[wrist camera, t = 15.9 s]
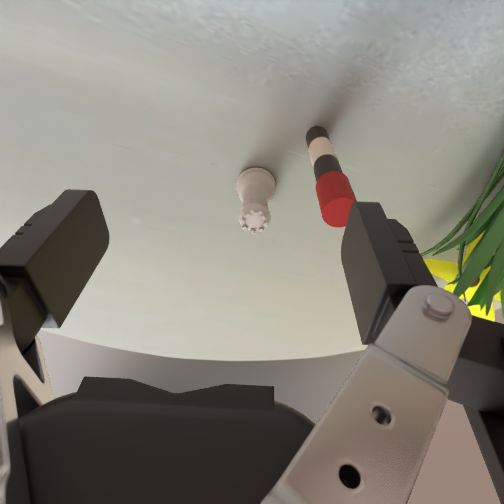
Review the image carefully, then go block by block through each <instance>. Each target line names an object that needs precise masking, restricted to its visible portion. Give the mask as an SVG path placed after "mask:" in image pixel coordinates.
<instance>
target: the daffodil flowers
mask: <svg viewBox="0 0 504 504" xmlns="http://www.w3.org/2000/svg"><path fill="white" fill-rule="evenodd" d="M503 163H504V152H503V154H502V156H501V158H500V160H499V162H498V164H497V166H496V168H495V170H494V172H493V174H492V176H491V178H490V180H489V182H488V184H487V186H486V188H485V190H484V192H483V194H482V196H481V197H480V198H479V200H478V201H477V202H476V204H475V205H474V206H473V207H472V208H471V210H470V211H469V212H468V213H467V214H466V216H465V217H464V218H463V219H462V220H461V221H460V222H459V224H458V225H457V226H456V227H455V228H454V229H453V230H452V232H451V233H450V234H449V235H448V236H447V237H446V238H445V239H443V240H442V241H441V242H440V243H438V244H437V245H436V246H434V247H433V248H431V249H429V250H427V251H425V252H424V253H422V254H421V256H423V255H425V254H428V253H430V252H432V251H434V250H436V249H438V248H440V247H441V246H442V245H444V244H445V243H447V242H448V241H449V240H450V239H451V238H452V237H454V236H455V235H456V233H457V232H458V231H459V230H460V229H461V228H462V227H463V225H464V224H465V223H466V222H467V221H468V220H469V221H468V224H467V226H466V228H465V231H464V233H463V234H461V235H460V236H459V237H458V238H457V239H455V240H454V241H452V242H451V243H449V244H448V245H446V246H445V247H443V248H442V249H440V250H439V251H437V252H436V253H434V254H433V255H432V256H434V255H436V254H439V253H442V252H444V251H446V250H449V249H451V248H453V247H455V246H457V245H459V244H460V245H459V247H458V248H457V250H459V259H458V263H454V262H448V261H442V260H433V259H423V260H424V262H425V263H426V265H427V267H428V269H429V271H430V273H432V274H433V275H435V276H437V277H439V278H441V279H443V280H446V281H448V282H449V283H448V284H447V285H446V286H445V288H444V289H445V290H447V291H449V292H451V293H453V294H454V295H456V296H457V297H459V298H460V299H461V300H462V299H463V298H464V300H465V297H466V298H467V300H468V302H469V303H468V304H467V306H468V308H469V310H470V312H471V315H474V316H477V317H480V318H484V319H487V320H491V321H494V318H495V316H494V314H495V313H494V307H493V302H492V300H493V299H494V300H497V301H501V305H502V313H503V317H504V186H503V187H502V189H501V190H500V191H499V193H498V194H497V195H496V197H495V198H494V199H493V200H492V201H491V203H490V204H489V205H488V206H487V207H486V209H485V210H484V211H483V212H482V213H481V215H480V216H479V217H478V218H477V219H476V220H475V222H474V223H473V221H474V219H475V217H476V215H477V213H478V211H479V210H480V208H481V206H482V204H483V202H484V201H485V199H486V198H487V197H488V195H489V194H490V193H491V192H492V190H493V189H494V188H495V186H496V185H497V184H498V183H499V181H500V180H501V179H502V178H503V176H504V167H503V169H502V170H501V171H500V169H501V167H502V165H503ZM499 171H500V173H499ZM498 173H499V174H498ZM472 223H473V224H472ZM484 231H485V232H484ZM469 243H470V244H469ZM468 244H469V245H468ZM466 245H468V248H467V251H466V254H465V257H464V260H463V252H464V247H465V246H466ZM494 253H495V254H494ZM462 260H463V263H462ZM465 302H466V300H465Z"/></svg>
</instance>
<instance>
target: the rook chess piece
mask: <svg viewBox="0 0 504 504" xmlns="http://www.w3.org/2000/svg"><path fill="white" fill-rule="evenodd" d="M236 187H237V193H238V196H239V198H240V199H241V201H242V202H243V204H242V207H241V210H240V212H239V214H238V220H239V223H240V224H241V225H242V226H243V229H244V230H245V231H246V230H250V233H253V234H255V231H258V230H259V232H262V231H264V228H266V227H267V226H268V224H269V223H270V220H271V215H270V212H269V211H268V205H267V203H268V202H269V201H270V200H271V199H272V197H273V195H274V191H275V181H274V178H273V177H272V175H271V174H270V173H269V172H268V171H266V170H264V169H262V168H250V169H247V170H245V171H244V172H242V173H241V174H240V176H239V178H238V179H237V185H236Z"/></svg>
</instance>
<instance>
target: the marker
mask: <svg viewBox="0 0 504 504" xmlns="http://www.w3.org/2000/svg"><path fill="white" fill-rule="evenodd" d="M306 141H307V145H308V149H309V154H310V158H311V163H312V167H313V170H314V173H315V177H316V181H317V184H316V192H317V196H318V200H319V205H320V209H321V213H322V217H323V220H324V221H325V222H326V223H327V224H328V225H330V226H332V227H344V226H346V224H347V220H348V215H349V211H350V208H351V205H352V203H353V202H354V201H355V202H357V200H356V198H355V195H354V193H353V190H352V188H351V185H350V183H349V180H348V178H347V177H346V175H344V174H343V172H342V170H341V167H340V165H339V161H338V159H337V156H336V154H335V151H334V148H333V146H332V143H331V141H330V139H329V137H328V134H327V132H326V130H325V129H324V128H323V127H320V126H315V127H313V128H311V129H310V130H309V131H308V132H307V135H306Z"/></svg>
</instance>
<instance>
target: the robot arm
mask: <svg viewBox="0 0 504 504" xmlns="http://www.w3.org/2000/svg"><path fill="white" fill-rule="evenodd" d="M413 242H414V241H413V239H412V237H411V235H410V233H409V232H408V230H407V229H406V228H405V227H404V226H403V225H401V224H400V223H399V222H398V221H397V220H395V219H387V217H386V215H385V213H384V211H383V209H382V207H381V205H380V203H378V202H355V201H354V202H353V203H352V205H351V208H350V211H349V215H348V220H347V224H346V228H345V232H344V236H343V240H342V246H341V259H342V264H343V268H344V272H345V276H346V280H347V284H348V288H349V292H350V296H351V300H352V304H353V308H354V312H355V316H356V320H357V325H358V329H359V333H360V337H361V341H362V344H363V345H368V347H367V348H366V350H365V351H364V353H363V354H362V356H361V357H360V359H359V360H358V362H357V363H356V365H355V366H354V368H353V369H352V371H351V372H350V374H349V375H348V377H347V378H346V380H345V381H344V383H343V384H342V386H341V387H340V389H339V390H338V392H337V393H336V395H335V396H334V398H333V399H332V401H331V402H330V404H329V405H328V407H327V408H326V410H325V411H324V413H323V414H322V416H321V417H320V419H319V420H318V422H317V423H316V424H315V423H313V422H312V421H311V420H310V419H308V418H307V417H306V416H305V415H303V414H301V413H300V412H298V411H297V410H295V409H293V408H291V407H289V406H287V405H285V404H283V403H280V402H276V401H274V387H273V386H272V387H271V386H255V385H236V384H225V385H220V386H214V387H210V388H204V389H199V390H194V391H189V392H184V393H171V392H168V391H165V390H162V389H159V388H156V387H153V386H150V385H146V384H143V383H141V382H138V381H135V380H132V379H121V378H102V377H84V378H83V380H82V382H81V384H80V387H79V389H78V391H77V392H75V393H71V394H68V395H65V396H61V397H59V398H56V399H55V397H54V394H53V391H52V388H51V384H50V380H49V375H48V371H47V367H46V363H45V359H44V355H43V351H42V347H41V343H40V340H39V338H38V337H37V335H36V334H37V333H38V331H39V330H40V328H41V327H42V328H60V327H61V325H62V324H63V322H64V320H65V319H66V317H67V315H68V314H69V312H70V310H71V309H72V307H73V305H74V304H75V302H76V300H77V299H78V297H79V295H80V294H81V292H82V290H83V289H84V287H85V285H86V284H87V282H88V280H89V279H90V277H91V275H92V274H93V272H94V270H95V269H96V267H97V265H98V264H99V262H100V260H101V259H102V257H103V255H104V254H105V252H106V250H107V248H108V245H109V231H108V228H107V225H106V221H105V218H104V215H103V212H102V209H101V206H100V202H99V199H98V197H97V195H96V193H95V192H94V191H92V190H70V189H68V190H65V191H64V192H63V193H62V194H61V195H60V196H59V197H58V198H57V199H56V200H55V201H54V202H53V203H52V205H51V204H50V205H49V206H47V207H45V208H43V209H41V210H40V211H38V212H36V213H34V214H33V216H32V217H31V218H30V219H29V220H28V221H27V222H26V223H25V224H24V226H22V227H21V228H20V229H19V230H18V231H17V232H16V235H13V236H12V237H11V238H10V239H9V240H8V241H7V242H6V243H5V244H4V245H3V246H2V247H1V248H0V504H407V502H408V500H409V497H410V494H411V492H412V489H413V486H414V484H415V481H416V479H417V476H418V474H419V471H420V468H421V466H422V463H423V461H424V458H425V456H426V453H427V451H428V448H429V445H430V442H431V440H432V437H433V435H434V432H435V430H436V427H437V425H438V422H439V419H440V417H441V414H442V412H443V409H444V406H445V404H446V401H447V399H448V400H452V401H454V402H457V403H460V404H463V406H464V409H465V411H466V414H467V416H468V419H469V422H470V424H471V427H472V429H473V432H474V435H475V437H476V440H477V443H478V445H479V448H480V450H481V453H482V456H483V458H484V461H485V463H486V466H487V468H488V471H489V473H490V476H491V479H492V482H493V484H494V487H495V489H496V492H497V495H498V497H499V500H500V502H501V504H504V324H501V323H498V322H494V321H491V320H487V319H484V318H480V317H477V316H474V315H471V312H470V310H469V308H468V306H467V305H466V304H465V303H464V302H463V301H462V300H461V299H460V298H459V297H457V296H456V295H454V294H453V293H451V292H449V291H447V290H445V289H442V288H439V287H438V286H437V284H436V282H435V280H434V278H433V277H432V275H431V273H430V271H429V269H428V267H427V265H426V263H425V262H424V260H423V258H422V256H421V254H420V253H419V250H418V248H417V247H416V245H415V244H414V243H413Z"/></svg>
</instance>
